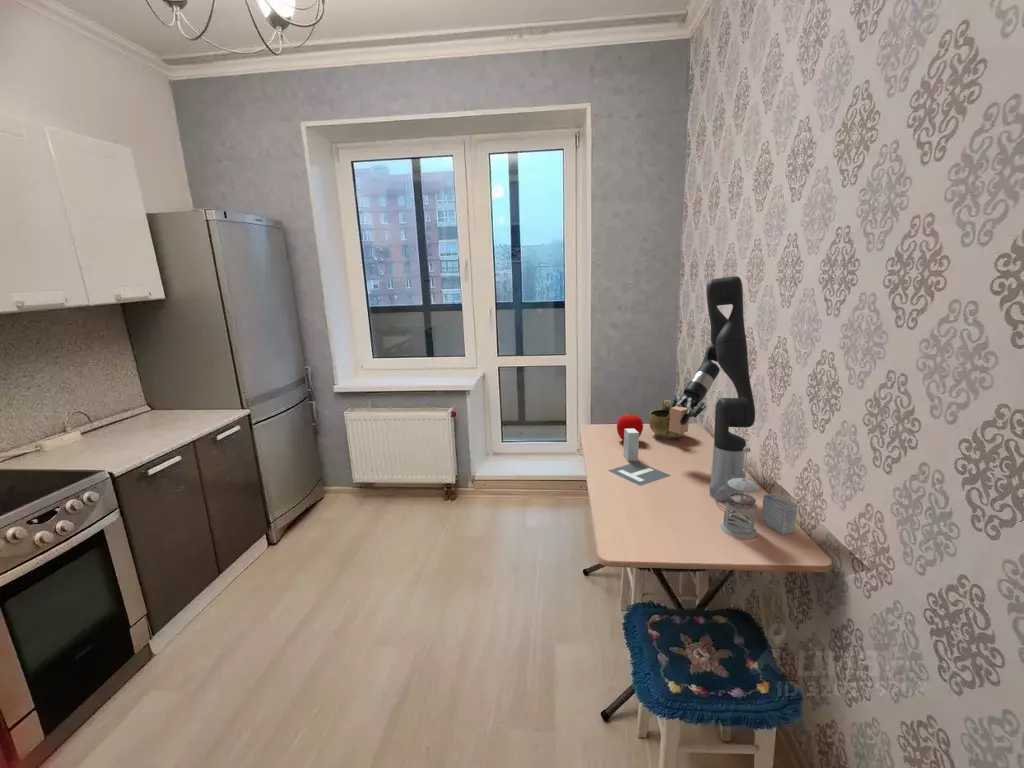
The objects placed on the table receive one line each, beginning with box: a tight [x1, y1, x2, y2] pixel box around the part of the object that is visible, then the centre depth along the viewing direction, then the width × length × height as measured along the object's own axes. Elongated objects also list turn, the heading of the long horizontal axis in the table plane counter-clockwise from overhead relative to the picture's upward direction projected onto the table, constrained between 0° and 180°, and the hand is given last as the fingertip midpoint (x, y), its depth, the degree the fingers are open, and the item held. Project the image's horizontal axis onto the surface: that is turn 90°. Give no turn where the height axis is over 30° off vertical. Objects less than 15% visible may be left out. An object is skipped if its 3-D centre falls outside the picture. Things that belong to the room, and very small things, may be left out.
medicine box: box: [760, 492, 798, 535], centre depth 134 cm, size 8×4×9 cm, turn 17°
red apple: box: [616, 413, 644, 442], centre depth 205 cm, size 11×11×13 cm
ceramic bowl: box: [648, 399, 690, 440], centre depth 210 cm, size 22×17×15 cm
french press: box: [714, 446, 760, 540], centre depth 131 cm, size 10×12×25 cm
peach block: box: [669, 405, 690, 434], centre depth 175 cm, size 5×5×9 cm
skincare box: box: [622, 428, 640, 462], centre depth 185 cm, size 6×4×12 cm
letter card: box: [607, 461, 672, 487], centre depth 172 cm, size 16×16×1 cm
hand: (675, 421), depth 175 cm, fingers closed on peach block, 4 cm apart
